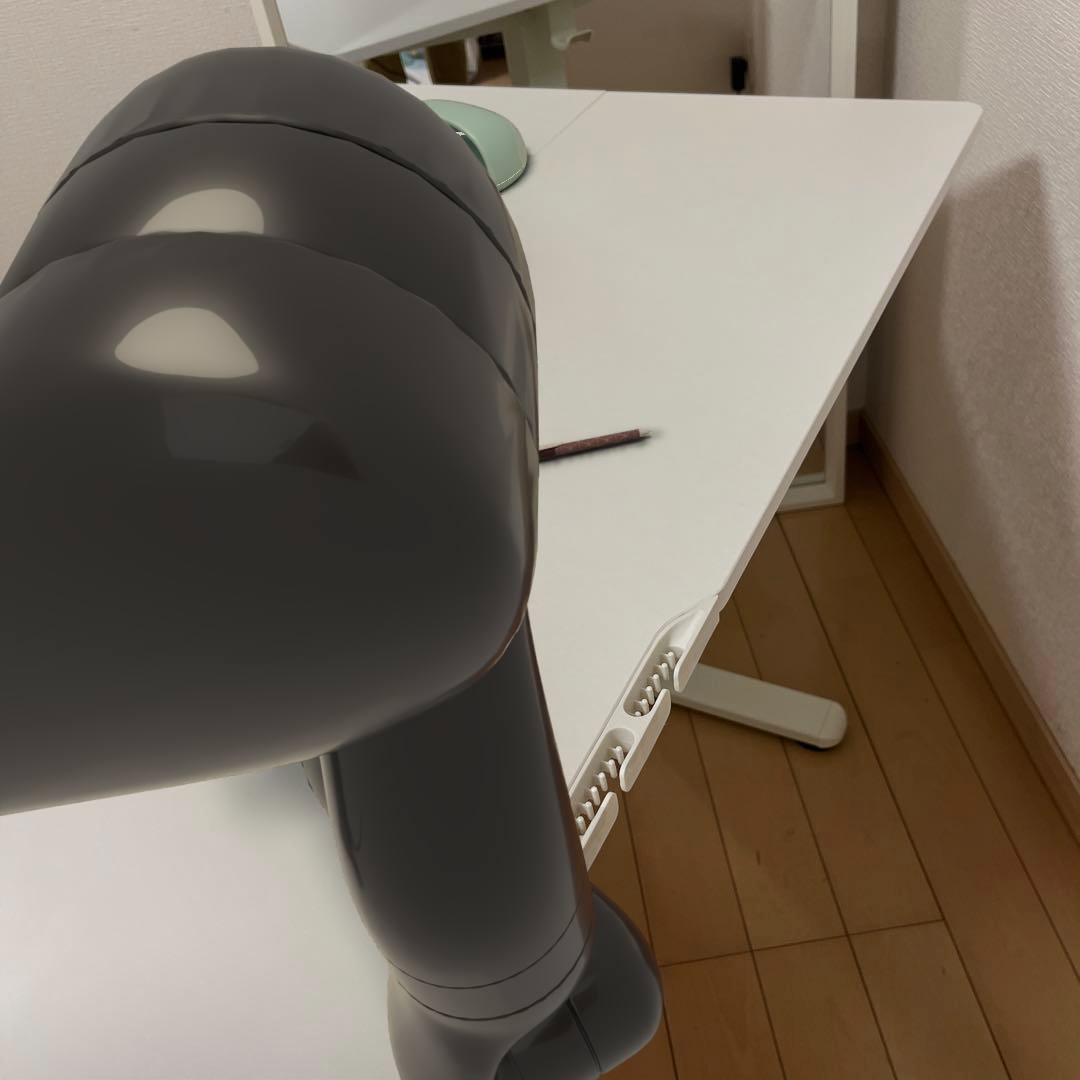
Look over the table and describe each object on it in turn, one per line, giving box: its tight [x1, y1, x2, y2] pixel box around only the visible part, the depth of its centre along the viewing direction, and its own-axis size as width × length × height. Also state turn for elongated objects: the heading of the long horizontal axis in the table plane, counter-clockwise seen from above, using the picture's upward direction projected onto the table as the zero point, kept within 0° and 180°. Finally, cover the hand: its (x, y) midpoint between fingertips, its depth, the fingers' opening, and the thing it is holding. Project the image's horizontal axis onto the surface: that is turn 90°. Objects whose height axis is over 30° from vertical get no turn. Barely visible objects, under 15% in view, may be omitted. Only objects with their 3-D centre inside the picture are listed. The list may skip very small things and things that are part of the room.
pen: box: [539, 428, 653, 460], centre depth 81 cm, size 11×1×1 cm, turn 96°
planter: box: [421, 98, 528, 192], centre depth 120 cm, size 19×7×16 cm
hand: (274, 555), depth 66 cm, fingers open, 8 cm apart
